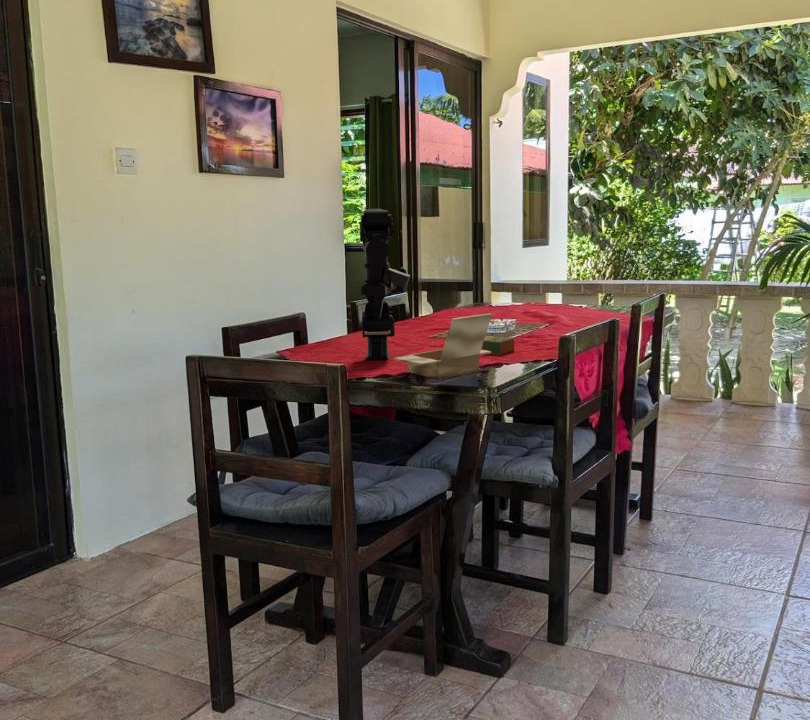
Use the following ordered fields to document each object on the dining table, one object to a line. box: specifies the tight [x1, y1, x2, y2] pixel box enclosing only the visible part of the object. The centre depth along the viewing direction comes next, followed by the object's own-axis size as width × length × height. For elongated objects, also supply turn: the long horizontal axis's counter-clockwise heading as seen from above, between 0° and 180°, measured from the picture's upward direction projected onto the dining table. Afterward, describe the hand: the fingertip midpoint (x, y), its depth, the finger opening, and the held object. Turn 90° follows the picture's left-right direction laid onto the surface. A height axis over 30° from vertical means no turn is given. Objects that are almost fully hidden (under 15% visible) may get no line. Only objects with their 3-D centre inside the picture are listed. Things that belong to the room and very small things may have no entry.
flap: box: [440, 312, 493, 361], centre depth 208 cm, size 12×13×1 cm
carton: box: [481, 335, 515, 356], centre depth 246 cm, size 8×16×4 cm, turn 54°
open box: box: [393, 348, 491, 380], centre depth 216 cm, size 12×24×4 cm, turn 130°
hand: (378, 319), depth 221 cm, fingers closed
